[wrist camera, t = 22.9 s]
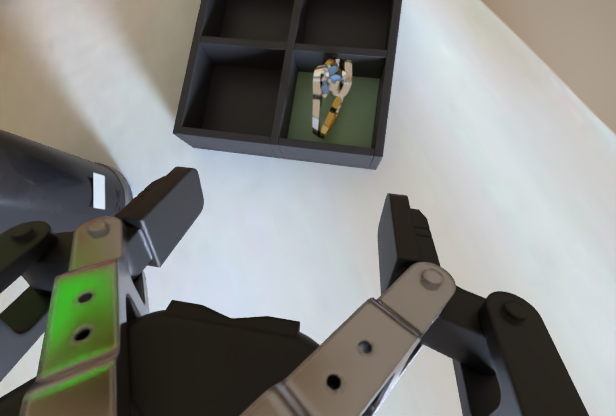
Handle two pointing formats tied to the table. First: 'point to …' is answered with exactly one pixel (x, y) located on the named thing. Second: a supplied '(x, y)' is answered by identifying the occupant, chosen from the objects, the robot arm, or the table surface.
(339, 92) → the ring
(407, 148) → the table surface
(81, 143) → the table surface
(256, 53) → the organizer
